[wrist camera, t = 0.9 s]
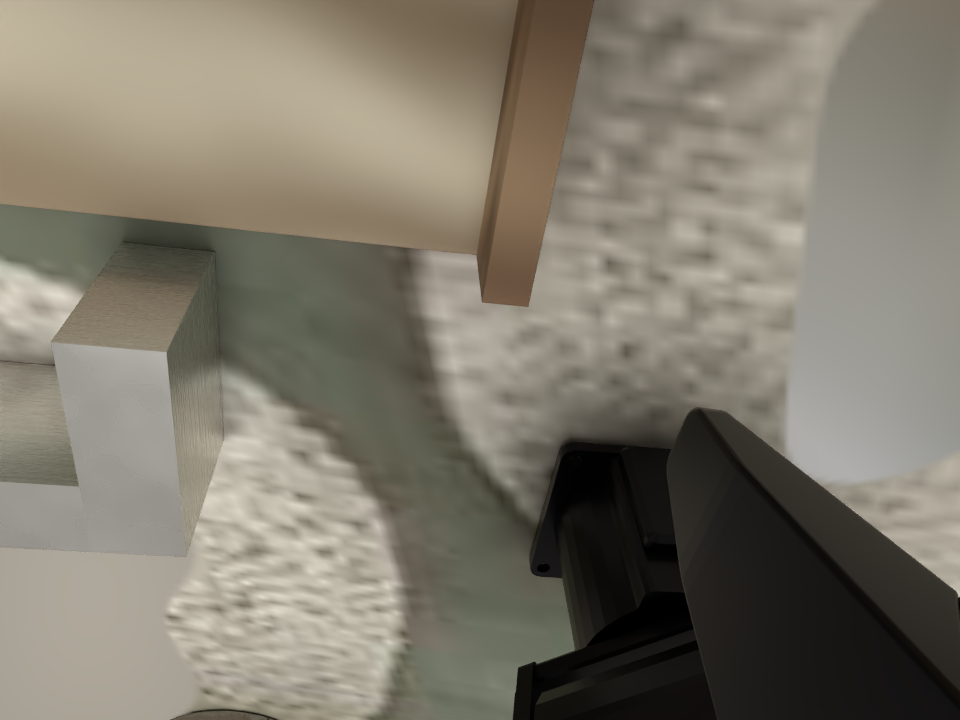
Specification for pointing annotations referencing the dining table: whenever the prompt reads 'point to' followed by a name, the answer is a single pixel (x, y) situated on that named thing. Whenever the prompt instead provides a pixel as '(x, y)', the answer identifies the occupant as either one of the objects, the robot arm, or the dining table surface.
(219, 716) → the thermos bottle
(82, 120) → the arena
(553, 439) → the dining table surface
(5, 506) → the bracket
